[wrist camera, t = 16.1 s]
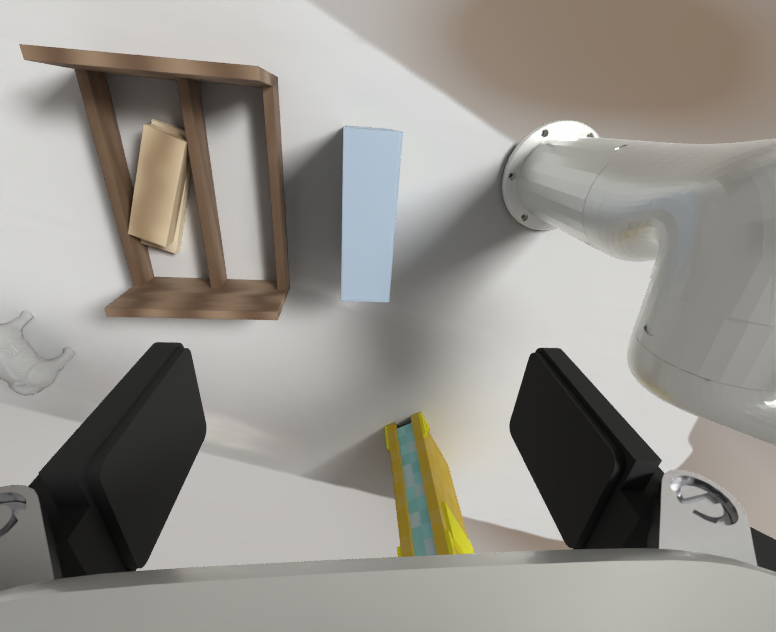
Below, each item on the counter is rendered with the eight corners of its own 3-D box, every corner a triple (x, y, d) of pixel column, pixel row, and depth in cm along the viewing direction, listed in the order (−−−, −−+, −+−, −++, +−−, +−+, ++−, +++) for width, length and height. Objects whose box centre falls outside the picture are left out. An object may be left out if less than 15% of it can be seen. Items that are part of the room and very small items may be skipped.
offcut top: (193, 141, 40) (185, 142, 38) (173, 242, 44) (165, 247, 42) (153, 123, 38) (143, 124, 37) (137, 229, 43) (127, 233, 41)
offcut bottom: (198, 133, 41) (192, 134, 39) (182, 248, 47) (176, 253, 45) (160, 119, 40) (151, 118, 38) (148, 238, 46) (140, 242, 44)
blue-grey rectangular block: (390, 128, 42) (402, 132, 31) (381, 263, 49) (389, 302, 39) (345, 125, 41) (343, 127, 31) (343, 261, 49) (341, 301, 38)
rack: (277, 77, 38) (257, 66, 31) (289, 288, 50) (277, 320, 42) (91, 60, 37) (19, 44, 29) (147, 283, 48) (106, 316, 40)
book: (384, 426, 63) (401, 591, 41) (420, 411, 62) (457, 572, 40) (421, 483, 71) (452, 648, 49) (454, 471, 70) (501, 633, 48)
